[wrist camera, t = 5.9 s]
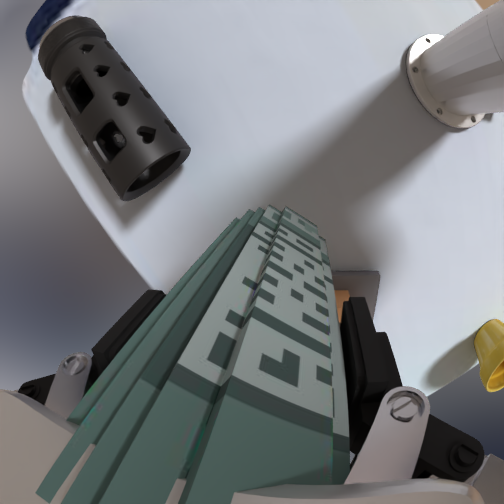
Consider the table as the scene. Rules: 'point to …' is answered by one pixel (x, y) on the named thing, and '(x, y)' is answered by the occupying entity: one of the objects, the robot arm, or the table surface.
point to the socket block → (355, 288)
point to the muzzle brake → (110, 107)
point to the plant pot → (491, 354)
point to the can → (222, 380)
